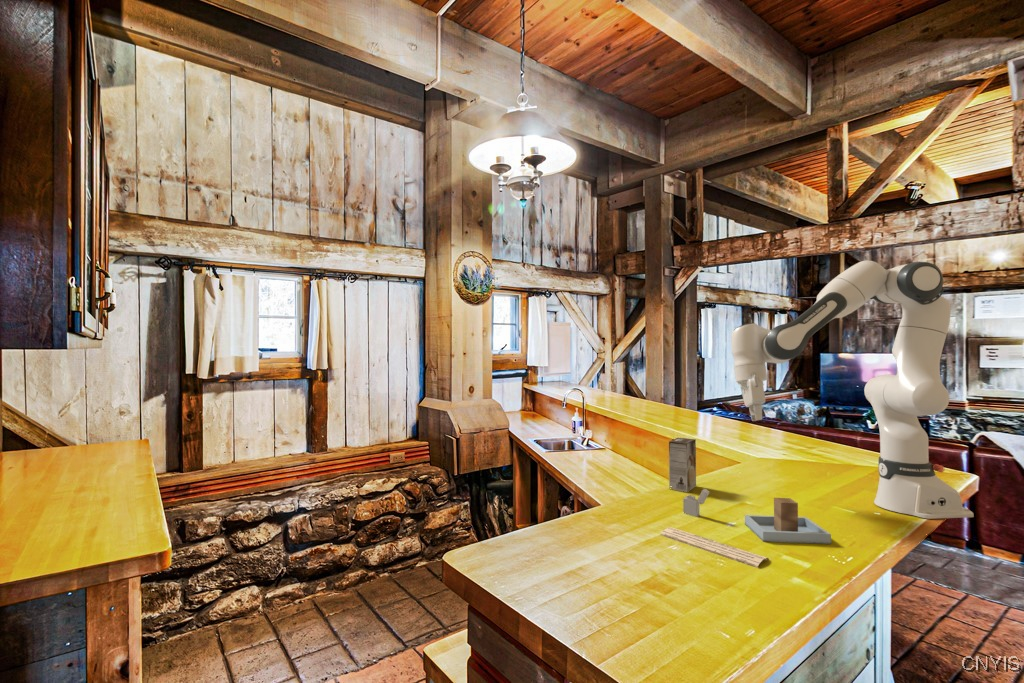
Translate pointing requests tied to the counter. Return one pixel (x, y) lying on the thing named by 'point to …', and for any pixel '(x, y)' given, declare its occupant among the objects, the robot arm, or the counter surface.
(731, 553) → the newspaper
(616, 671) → the counter surface
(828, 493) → the counter surface
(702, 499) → the lighter
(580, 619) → the counter surface
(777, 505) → the walnut block
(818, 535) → the slate tray
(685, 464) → the coffee box
